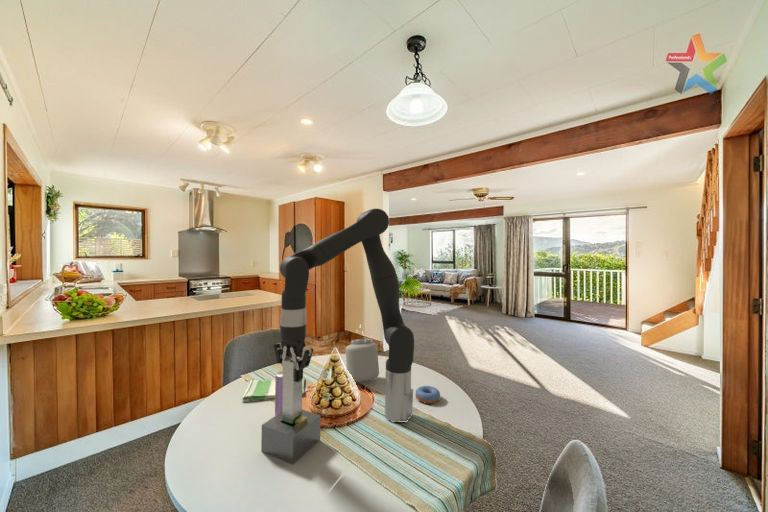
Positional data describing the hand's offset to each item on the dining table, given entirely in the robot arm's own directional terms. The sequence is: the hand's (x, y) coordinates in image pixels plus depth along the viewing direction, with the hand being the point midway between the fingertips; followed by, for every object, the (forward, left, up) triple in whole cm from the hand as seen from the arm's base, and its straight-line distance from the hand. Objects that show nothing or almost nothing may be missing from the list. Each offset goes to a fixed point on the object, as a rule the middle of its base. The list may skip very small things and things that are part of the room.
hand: (292, 379), depth 89 cm
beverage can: (+15, -12, -20) cm, 28 cm away
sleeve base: (0, 0, -20) cm, 20 cm away
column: (0, 0, -12) cm, 12 cm away
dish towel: (+32, -25, -21) cm, 46 cm away
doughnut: (-28, -48, -21) cm, 59 cm away
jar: (+6, -51, -21) cm, 56 cm away
